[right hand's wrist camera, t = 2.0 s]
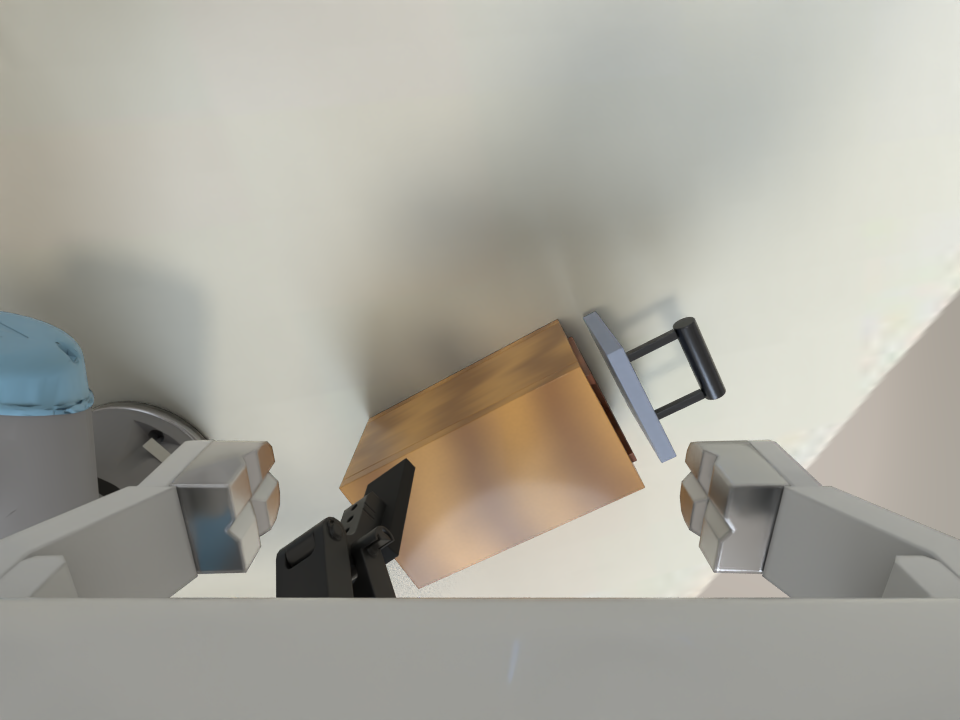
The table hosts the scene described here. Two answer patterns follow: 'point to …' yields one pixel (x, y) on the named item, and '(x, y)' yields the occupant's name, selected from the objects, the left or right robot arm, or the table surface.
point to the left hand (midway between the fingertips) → (470, 555)
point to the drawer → (632, 387)
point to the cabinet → (495, 455)
